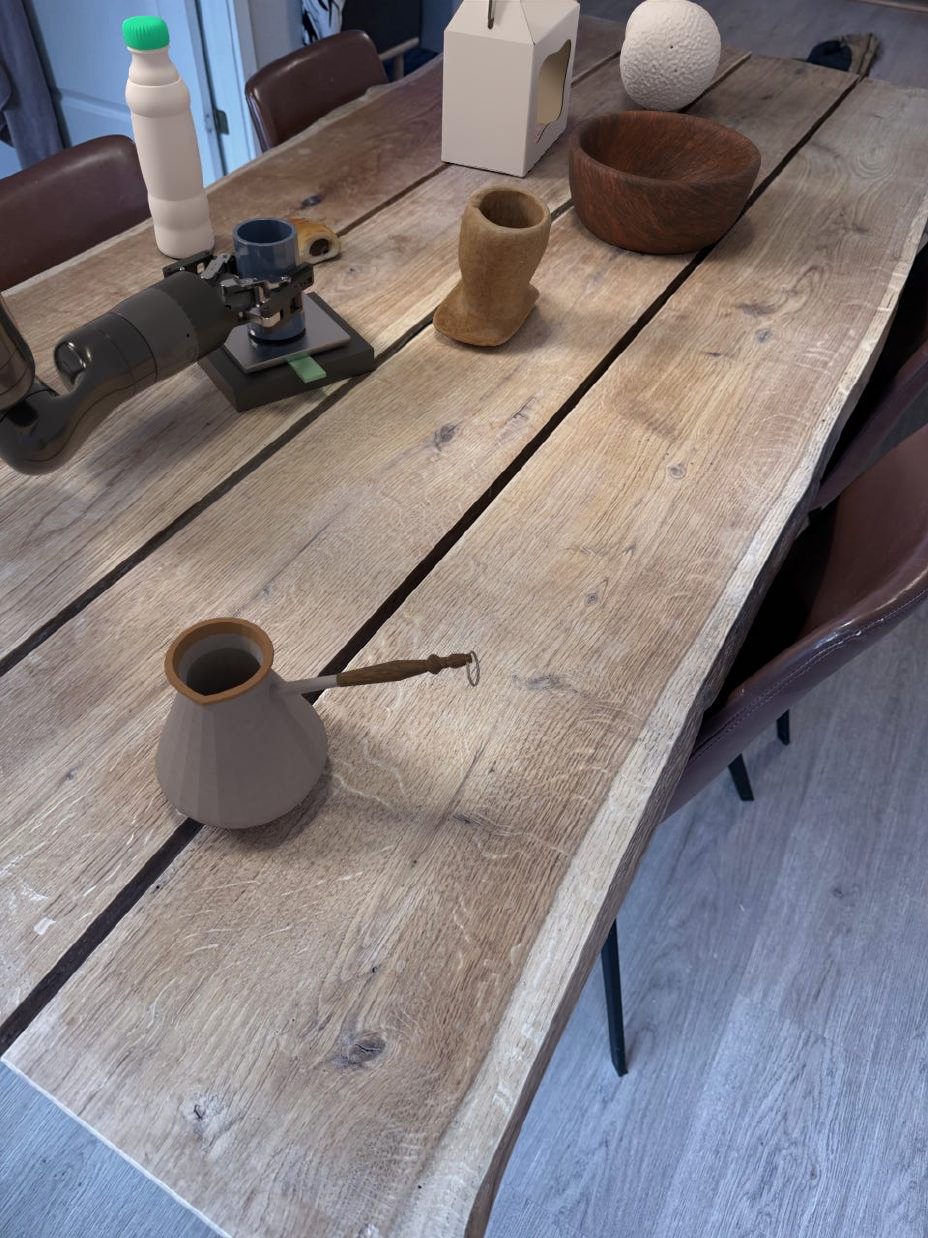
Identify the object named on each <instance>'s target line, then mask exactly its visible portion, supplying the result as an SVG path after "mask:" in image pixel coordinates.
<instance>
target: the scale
mask: <svg viewBox="0 0 928 1238" xmlns="http://www.w3.org/2000/svg"><path fill="white" fill-rule="evenodd" d="M305 293H306V292H305ZM306 294H307V295H308V296H309V297H310V298H311V299H312V300H313V301H314V302H315V303H316V304H317V305H318V306H319V307H320V308H321V309H322V310H323V311H324V312H325V313H326V314H327V315H328V316H329V317H330V318H332V319H333V320H334V321H335V322H336V323H337V324H338V325H339V326H340V327H341V328H342V329H343V330H344V331H345V332H346V333H347V334H348V335H349V336H350V340H351V343H349V344H346V345H342V346H339V347H336V348H332V349H329V350H325V351H322V352H319V353H315V354H312V355H309V356H305V357H302V358H299V359H295V360H292V361H289V362H285V363H282V364H279V365H275V366H272V367H269V368H265V369H262V370H259V371H255V372H252V373H248V374H245V373H244V371H243V370H242V369H241V368H240V367H239V366H238V364H237V363H236V362H235V361H234V360H233V359H232V357H231V356H230V355H229V354H228V353H227V352H226V350H225V349H224V348H223V347H220V348H219V349H217V350H215V351H214V352H212V353H210V354H209V355H207V356H205V357H204V358H202V359H201V360H199V361H197V362H196V363H197V364H198V365H199V367H200V368H201V369H202V371H204V373H205V374H206V375H207V376H208V378H209V379H210V380H211V381H212V382H213V384H214V385H215V386H216V388H217V389H218V390H219V391H220V393H221V394H222V395H223V396H224V397H225V399H226V400H227V401H228V402H229V404H230V405H231V406H232V407H233V409H234V410H235V411H236V412H237V413H241V412H245V411H248V410H251V409H253V408H257V407H260V406H263V405H267V404H270V403H272V402H276V401H280V400H283V399H286V398H290V397H292V396H295V395H298V394H301V393H305V392H307V391H312V390H315V389H316V388H317V389H318V388H321V387H324V386H326V385H327V386H328V385H330V384H333V383H336V382H339V381H342V380H346V379H349V378H352V377H355V376H359V375H362V374H365V373H368V372H371V371H374V370H376V360H375V359H376V357H375V347H374V346H372V345H371V344H370V343H369V342H368V341H367V339H365V338H364V337H363V335H361V334H360V333H359V331H357V330H356V329H355V328H353V327H352V326H351V324H349V323H348V322H347V321H346V320H345V319H344V318H343V317H342V316H341V315H340V314H339V313H338V312H337V311H336V310H335V309H334V308H332V306H331V305H330V304H328V303H327V302H326V301H325V300H324V299H323V298H322V297H321V296H320V295H319V294H318V293H316V291H311V292H310V291H309V292H307V293H306Z"/></svg>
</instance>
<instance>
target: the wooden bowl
mask: <svg viewBox="0 0 928 1238" xmlns="http://www.w3.org/2000/svg"><path fill="white" fill-rule="evenodd" d="M567 153H568V155H567V157H568V159H567V161H568V163H567V165H568V183H569V192H570V197H571V201H572V204H573V208H574V210H575V213H576V215H577V217H578V219H579V221H580V222H581V224H582V225H583V226H584V227H585V228H586V230H588V231H589V232H590V233H591V234H593V235H594V236H595V237H596V238H599V239H600V240H602V241H604V242H606V243H608V244H611V245H613V246H616V247H619V248H623V249H626V250H629V251H634V252H641V253H648V254H657V255H658V254H660V255H661V254H662V255H675V254H685V253H691V252H696V251H699V250H702V249H705V248H708V247H709V246H711V245H712V244H715V243H716V242H717V241H719V240H720V239H721V238H722V237H723V236H724V235H725V234H727V232H728V231H729V230H730V228H731V227H732V226H733V225H734V224H735V222H736V221H737V219H738V218H739V216H740V214H741V213H742V211H743V209H744V207H745V205H746V203H747V201H748V199H749V197H750V194H751V192H752V190H753V187H754V185H755V183H756V180H757V177H758V175H759V172H760V169H761V166H762V154H761V151H760V150H759V148H758V147H757V145H756V144H755V143H754V142H753V141H752V140H751V139H750V138H749V137H747V136H746V135H744V134H743V133H741V132H739V131H737V130H736V129H734V128H731V127H729V126H727V125H724V124H723V123H719V122H716V121H713V120H710V119H707V118H702V117H699V116H694V115H689V114H686V113H685V114H684V113H679V112H672V111H662V112H661V111H654V110H626V111H616V112H610V113H605V114H602V115H597V116H594V117H592V118H589V119H587V120H585V121H583V122H582V123H580V124H579V125H578V126H576V127H575V128H574V129H573V130H572V132H571V134H570V136H569V140H568V151H567Z"/></svg>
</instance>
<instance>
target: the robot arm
mask: <svg viewBox="0 0 928 1238" xmlns="http://www.w3.org/2000/svg"><path fill="white" fill-rule="evenodd" d="M201 264H202V267H203V270H201V271H198V266H200V265H201ZM161 270H162V275H163V279H161V280H159V281H157V282H155V283H154V284H152V285H149V286H148V287H146V288H144V289H142V290H140V291H139V292H136V293H134V294H132V295H130V296H129V297H127V298H125V299H123V300H122V301H120V302H119V303H117V304H116V305H114V306H113V307H112V308H111V309H110V310H108V311H107V312H105V313H103V314H102V315H100V316H98V317H96V318H93V319H92V320H90V321H88V322H86V323H84V324H82V325H81V326H79V327H77V328H74V329H73V330H71V331H69V332H68V333H66V334H65V335H63V336H61V337H60V338H59V339H58V340H57V342H56V343H55V344H54V347H53V350H52V362H53V366H54V368H55V372H56V374H57V375H58V377H59V379H60V381H61V383H62V385H64V387H65V389H66V390H67V391H68V392H67V393H64V394H62V395H61V393H59V392H57V391H56V390H55V389H54V388H53V387H52V386H50V385H49V384H48V383H47V382H46V381H45V380H44V379H42V378H41V377H40V376H39V375H38V374H37V373H36V362H35V358H34V354H33V351H32V349H31V347H30V344H29V343H28V340H27V339H26V337H25V335H24V333H23V331H22V329H21V328H20V326H19V324H18V322H17V320H16V318H15V316H14V314H13V312H12V311H11V309H10V307H9V306H8V304H7V302H6V300H5V298H4V296H3V294H2V291H0V460H1V461H2V462H3V463H4V464H6V465H7V466H8V467H9V468H10V469H11V470H13V471H15V472H16V473H18V474H21V475H23V476H28V477H38V476H39V477H40V476H46V475H50V474H53V473H55V472H58V471H59V470H61V469H63V468H64V467H66V466H67V465H68V464H69V463H70V462H71V461H72V459H74V458H75V456H76V455H77V454H78V452H79V451H81V449H82V447H83V446H84V445H85V444H86V442H87V441H88V440H89V438H90V437H91V436H92V435H93V434H94V433H95V432H96V431H97V429H99V428H100V426H101V425H102V424H103V423H104V422H105V421H106V420H107V419H108V418H109V417H110V416H111V415H112V414H113V413H114V412H115V411H116V410H117V409H118V408H120V406H121V405H123V404H124V403H126V402H128V401H129V400H131V399H133V398H135V397H136V396H139V394H141V393H143V392H145V391H146V390H148V389H150V388H151V387H153V386H154V385H157V384H158V383H161V382H164V381H167V380H169V379H171V378H173V377H174V376H176V375H178V374H179V373H181V372H182V371H185V370H186V369H188V368H190V367H191V366H192V365H195V364H196V363H197V361H199V360H201V359H202V358H204V357H205V356H207V355H209V354H210V353H212V352H214V351H215V350H217V349H219V348H220V347H222V346H223V345H224V344H225V342H226V341H227V338H228V336H229V334H230V333H231V331H232V329H233V328H235V327H237V326H241V325H245V324H248V323H249V322H254V323H258V324H261V325H262V330H263V333H264V334H273V333H275V332H276V331H277V330H278V329H280V328H281V327H282V326H284V325H285V324H286V323H287V322H289V321H290V320H291V319H292V318H294V317H295V316H296V315H297V314H299V313H300V312H301V311H302V310H303V302H302V291H303V292H305V291H306V290H308V289H309V288H311V287H312V286H314V284H315V271H314V264H311V263H309V262H306V261H305V262H303V263H301V264H300V265H298V266H296V267H295V268H293V269H291V270H289V271H288V272H286V273H284V274H283V275H282V276H277V277H273V278H268V279H267V278H265V277H264V276H263V275H258V276H254V277H249V278H245V279H240V278H239V276H238V270H237V263H236V256H235V251H233V252H231V253H230V252H221V253H218V254H217V255H214V251H213V250H212V249H211V250H204V251H201V252H199V253H197V254H194V255H192V256H189V257H187V258H185V259H179V260H177V261H175V262H173V263H171V264H168V265H166V266H164V267H162V269H161ZM257 287H259V293H260V303H259V304H257V305H255V304H256V297H255V290H254V288H257ZM277 287H279V288H280V292H279V293H277V294H276V295H275V296H273V297H271V293H270V291H271V289H273V288H277Z"/></svg>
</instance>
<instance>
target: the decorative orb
mask: <svg viewBox="0 0 928 1238" xmlns="http://www.w3.org/2000/svg"><path fill="white" fill-rule="evenodd" d="M718 28H719V27H718V26H717V25H716V22H715V20H714V19H713V17H712V15H710V13H709V12H708V11H707V10H706V9H704V8H703V7H702V6H701V5H699V4H697V3H696V2H692V1H690V0H644V1H643V2H641V3H640V4H639V5H637V6H636V8H635V9H634V10H633V12H632V13H631V15H630V17H629V18H628V21H627V23H626V27H625V32H624V33H625V34H624V36H625V37H624V41H623V43H622V47H621V49H620V55H619V69H620V77H621V81H622V85H623V87H624V89H625V91H626V93H627V95H629V97H630V98H631V99H632V101H634V102H635V103H636V104H637V105H639V106H640V107H642V108H645V109H646V111H661V112H673V111H675V110H679V109H681V108H684V107H686V106H688V105H690V104H691V103H693V101H695V100H696V99H697V98H699V97H700V96H701V95H702V94H703V93H704V92H705V90H706V89H707V88H708V86H709V85H710V83H711V81H712V80H713V78H714V76H715V74H716V72H717V70H718V67H719V62H720V60H721V50H722V41H721V34H720V32H719V29H718Z"/></svg>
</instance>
